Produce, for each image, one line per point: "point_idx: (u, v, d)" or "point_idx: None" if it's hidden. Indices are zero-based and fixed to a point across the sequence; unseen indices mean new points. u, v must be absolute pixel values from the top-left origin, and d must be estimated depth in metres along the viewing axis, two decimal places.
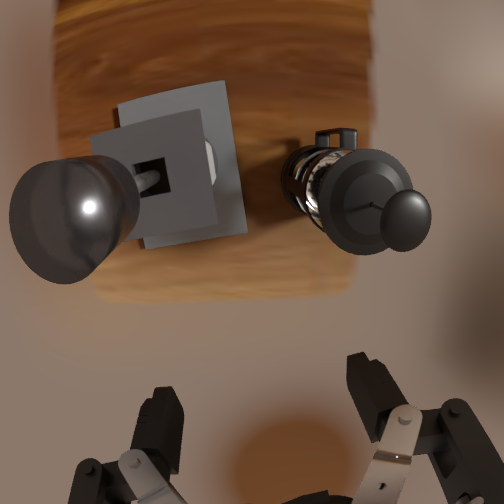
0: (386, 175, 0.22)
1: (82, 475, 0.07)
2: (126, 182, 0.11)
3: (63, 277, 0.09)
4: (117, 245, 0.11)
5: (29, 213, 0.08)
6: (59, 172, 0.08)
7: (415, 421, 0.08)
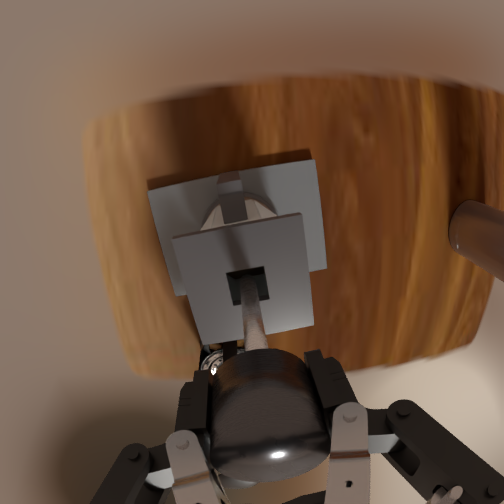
0: None
1: (126, 459, 0.08)
2: None
3: (217, 461, 0.09)
4: None
5: (287, 443, 0.08)
6: (318, 459, 0.09)
7: (359, 419, 0.08)
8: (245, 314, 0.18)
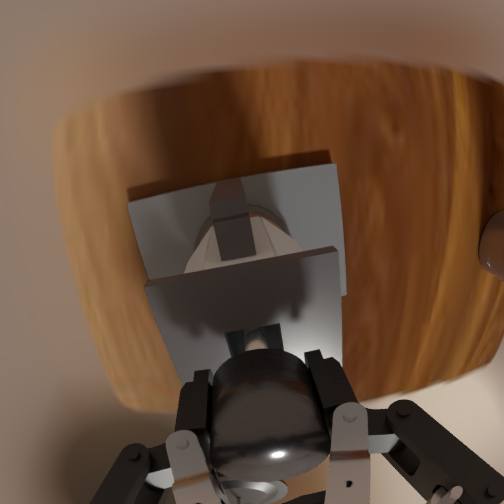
0: (265, 499, 0.20)
1: (125, 459, 0.08)
2: None
3: (217, 461, 0.09)
4: None
5: (287, 443, 0.08)
6: (317, 459, 0.09)
7: (359, 419, 0.08)
8: None
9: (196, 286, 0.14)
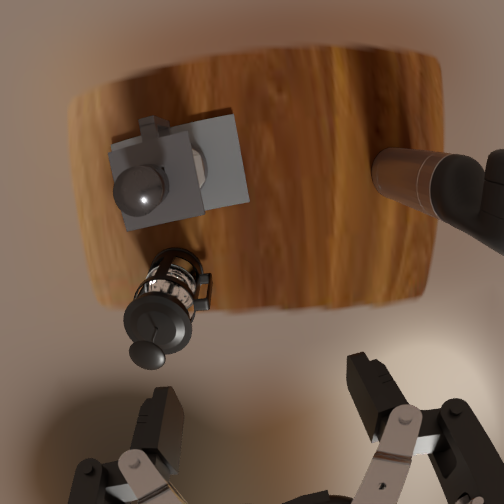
0: (176, 335, 0.36)
1: (82, 475, 0.07)
2: None
3: (116, 194, 0.24)
4: None
5: (140, 180, 0.24)
6: (156, 197, 0.24)
7: (415, 421, 0.08)
8: None
9: (128, 150, 0.29)
